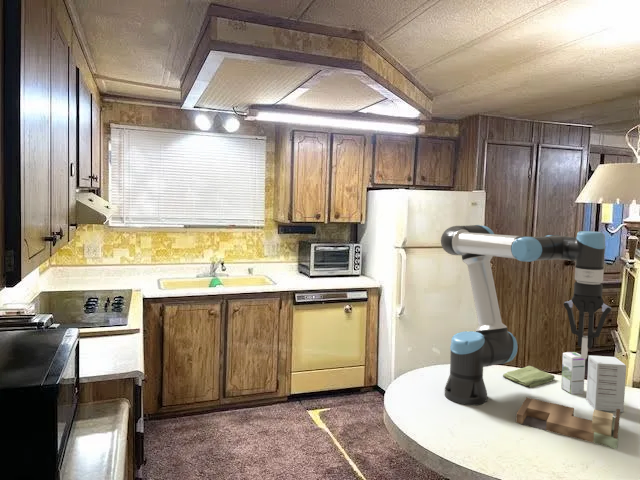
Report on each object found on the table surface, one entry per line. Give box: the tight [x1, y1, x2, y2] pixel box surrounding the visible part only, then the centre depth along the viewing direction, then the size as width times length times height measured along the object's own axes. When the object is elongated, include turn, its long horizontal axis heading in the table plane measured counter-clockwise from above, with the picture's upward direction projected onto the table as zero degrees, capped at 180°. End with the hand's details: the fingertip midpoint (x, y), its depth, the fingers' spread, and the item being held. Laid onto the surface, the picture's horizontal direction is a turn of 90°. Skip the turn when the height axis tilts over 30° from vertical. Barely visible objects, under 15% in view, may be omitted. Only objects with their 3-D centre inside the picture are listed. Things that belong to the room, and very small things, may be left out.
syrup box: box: [561, 351, 586, 395], centre depth 179 cm, size 6×6×14 cm
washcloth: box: [502, 365, 556, 388], centre depth 192 cm, size 13×18×3 cm
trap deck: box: [515, 396, 621, 450], centre depth 152 cm, size 28×16×6 cm, turn 56°
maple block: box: [591, 408, 614, 436], centre depth 143 cm, size 5×5×5 cm
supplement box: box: [585, 354, 627, 413], centre depth 166 cm, size 10×9×17 cm
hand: (584, 357), depth 145 cm, fingers closed
